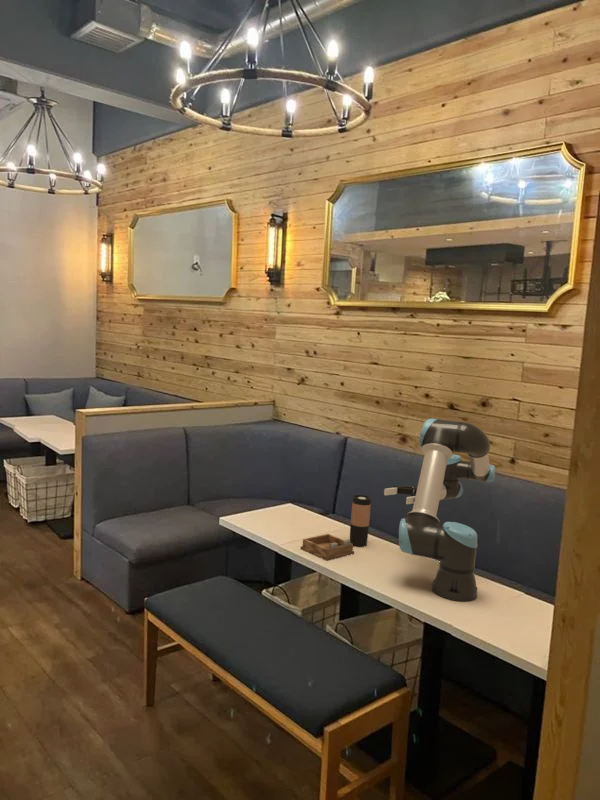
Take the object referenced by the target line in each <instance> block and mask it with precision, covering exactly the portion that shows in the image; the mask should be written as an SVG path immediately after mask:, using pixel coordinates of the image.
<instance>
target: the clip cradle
mask: <svg viewBox="0 0 600 800" xmlns="http://www.w3.org/2000/svg"><path fill="white" fill-rule="evenodd" d="M353 548H354V546H353V544H352V543H350V539H342V538H339V537H338V536H334V535H332V534H329V533H326V534H322V535H315V536H312V537H311V536H310V537H308V538H304V539H303V538H302V545H301V546H300V550H302V551H304V552H307V553H308V552H309V554H311V555H312V556H315V557H317V558H319V559H321V558H322V559H321V560H324V561H326V562H327V561H331V560H336V559H340V558H344V557H347V555H348V556H352V555H354V554H355V551H354V549H353ZM351 554H352V555H351ZM343 556H344V557H343ZM335 558H336V559H335Z"/></svg>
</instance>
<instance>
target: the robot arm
mask: <svg viewBox="0 0 600 800" xmlns="http://www.w3.org/2000/svg"><path fill="white" fill-rule="evenodd" d="M421 427H422V428H421V430H420V434H419V441H418V442H419V443H418V444H419V447H421V451H422V453H423V454H424V455H423V456H424V457H423V460H422V464H421V465H422V466H421V470H420V475H419V479H418V482H417V487H416V486H415V485H411V486H409V485H406V486H405V485H404V486H403V485H393V486H392V487H388V488H384V491H383V495H384V496H390V495H391V496H393V495H395V496H396V495H397V494H399V495H410V496H407V497H406V501H405V504H406V505H411V504H413V507H412V510H411V511H409V512H408V513H406V518H405V517H404V518H401V519H400V521H399V524H398V525H399V526H398V545H399V546H398V547H399V549H400V551H401V552H403V553H405V554H409V555H412V556H418V557H423V558H429V559H435V560H439V567H438V569H437V572H436V574H435V578H434V579H433V580H432V584H431V591H433V593H435V594H436V595H438V597H441V598H445V599H448V600H452V601H456V602H458V601H459V602H468V601H469V602H470V601H473V600H475V599H477V597H478V587H477V582H476V577H475V566H476V556H477V548H478V533H477V531H475V529H474V528H472V527H470V526H468V525H466V524H463V523H459V522H456V521H445V522H444V523H443V524H442V525H440V522H441V521H440V519H439V518H438V517H437V514H438V509H439V504H440V501H443V500H452V499H458V498H460V497H461V496H462V495H463V493H464V488H463V484H462V482H460V479H465V480H472V481H479V482H484V483H493V482H494V481H495V475H496V466H495V465H493V464H490V459H489V453H490V450H491V443H490V439H489V437H488V436H487V434H486V433H485V432H484V431H483V430H482V429H481V428H479V427H478V426H477V425H475V424H473V423H469V422H466V421H456V420H450V419H449V420H448V419H441V418H428V419H426V420H425V421H424V423H423V425H422V426H421ZM454 453H461V454H462V453H463V454H467V456H468V459H469V461H467V460H462V456H461V455H459V454H454Z"/></svg>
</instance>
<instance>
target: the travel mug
mask: <svg viewBox="0 0 600 800" xmlns="http://www.w3.org/2000/svg"><path fill="white" fill-rule="evenodd" d="M351 502H352V505H351V515H350V526H349V527H350V530H349V540H350V543H352V544H353V547H355V546H356V548H364V546H365V547H366V546H367V544H368V537H369V529H370V519H371V506H372V498H371V497H369V495H367V494H354V495H353V496H352V501H351Z"/></svg>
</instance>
